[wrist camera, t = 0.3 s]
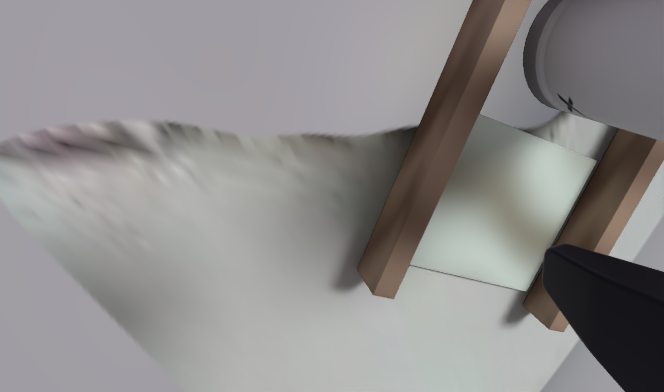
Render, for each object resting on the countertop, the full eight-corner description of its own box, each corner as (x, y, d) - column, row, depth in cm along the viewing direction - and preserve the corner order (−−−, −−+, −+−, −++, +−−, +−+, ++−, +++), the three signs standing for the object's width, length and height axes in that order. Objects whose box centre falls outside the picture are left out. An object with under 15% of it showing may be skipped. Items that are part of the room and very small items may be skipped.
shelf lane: (536, 308, 31) (609, 372, 26) (356, 269, 26) (401, 339, 21) (717, -18, 26) (855, -21, 21) (535, -144, 21) (656, -191, 16)
